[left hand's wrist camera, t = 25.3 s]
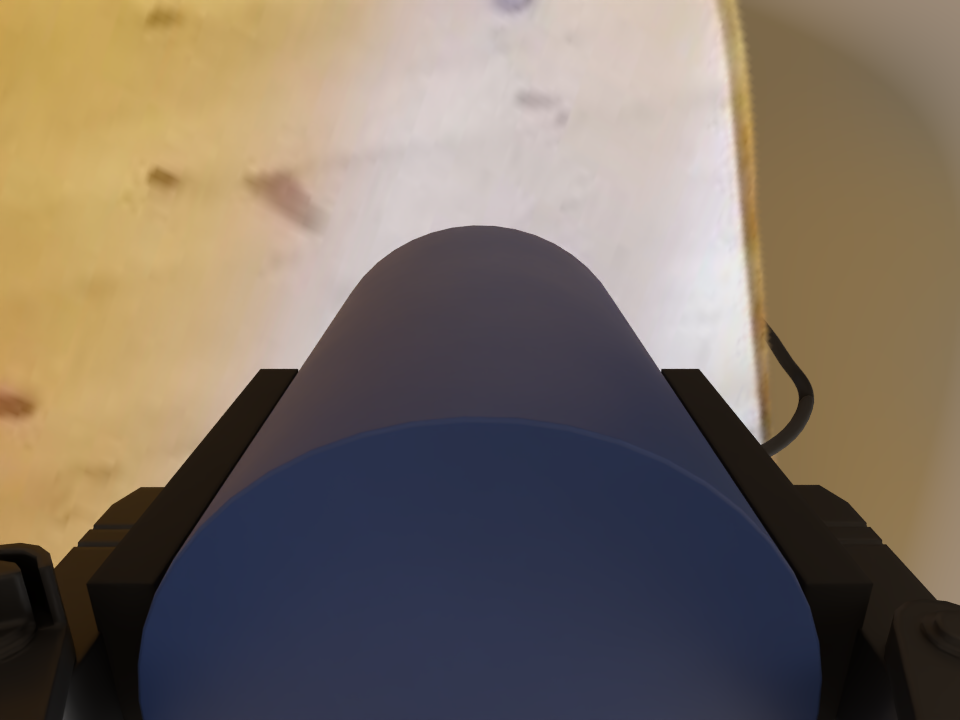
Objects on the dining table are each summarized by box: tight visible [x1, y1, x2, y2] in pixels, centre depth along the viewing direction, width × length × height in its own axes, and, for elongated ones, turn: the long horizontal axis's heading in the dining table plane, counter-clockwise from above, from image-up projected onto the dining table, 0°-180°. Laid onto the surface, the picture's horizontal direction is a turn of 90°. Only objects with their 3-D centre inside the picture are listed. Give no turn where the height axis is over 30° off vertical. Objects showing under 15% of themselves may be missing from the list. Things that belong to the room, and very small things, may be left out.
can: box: [138, 226, 822, 720], centre depth 12 cm, size 7×7×10 cm
